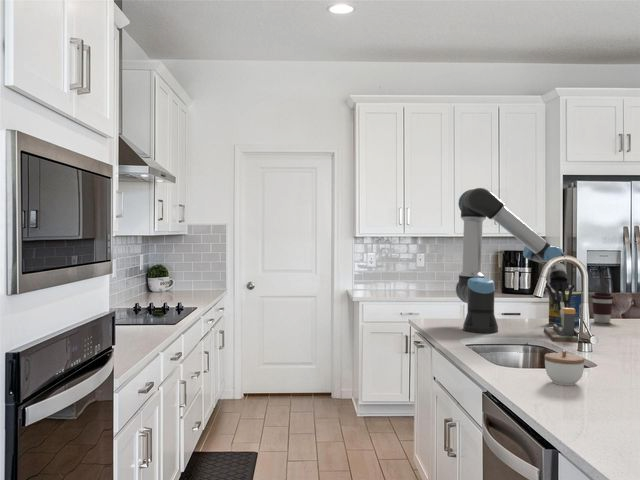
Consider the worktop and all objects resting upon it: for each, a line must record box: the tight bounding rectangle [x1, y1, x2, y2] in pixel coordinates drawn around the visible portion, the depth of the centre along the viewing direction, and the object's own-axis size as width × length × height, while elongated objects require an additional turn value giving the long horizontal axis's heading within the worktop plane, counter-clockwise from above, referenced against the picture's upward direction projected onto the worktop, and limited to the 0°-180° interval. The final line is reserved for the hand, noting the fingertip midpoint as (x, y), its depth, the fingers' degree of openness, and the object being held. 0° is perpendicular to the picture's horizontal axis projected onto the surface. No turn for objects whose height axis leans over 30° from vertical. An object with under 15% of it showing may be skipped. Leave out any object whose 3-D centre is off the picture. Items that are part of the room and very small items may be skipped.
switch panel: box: [543, 324, 579, 343], centre depth 247 cm, size 14×26×4 cm, turn 166°
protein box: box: [548, 290, 581, 326], centre depth 283 cm, size 10×15×16 cm
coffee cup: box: [590, 291, 614, 324], centre depth 289 cm, size 10×10×15 cm
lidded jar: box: [544, 350, 585, 387], centre depth 168 cm, size 11×11×9 cm
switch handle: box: [561, 308, 575, 336], centre depth 241 cm, size 5×5×11 cm
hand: (563, 315), depth 253 cm, fingers closed
